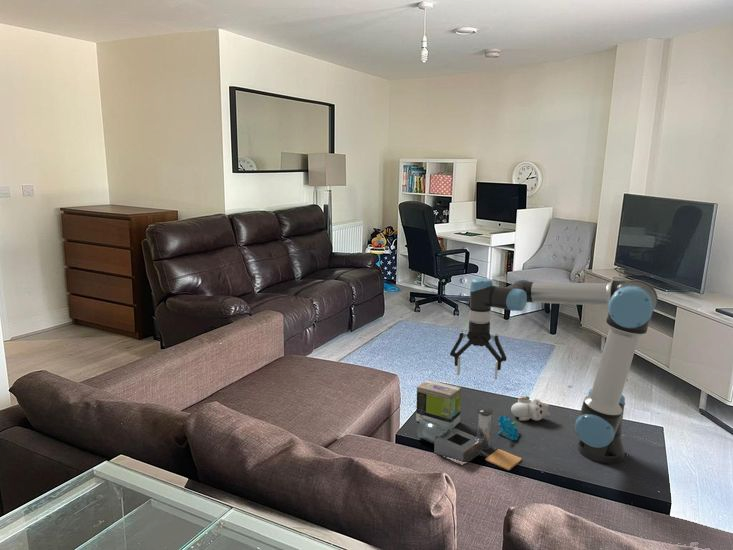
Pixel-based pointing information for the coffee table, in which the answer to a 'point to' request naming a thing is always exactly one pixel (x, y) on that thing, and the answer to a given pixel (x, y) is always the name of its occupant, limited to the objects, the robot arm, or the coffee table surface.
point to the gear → (508, 428)
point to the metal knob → (484, 426)
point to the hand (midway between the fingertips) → (477, 376)
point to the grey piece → (450, 441)
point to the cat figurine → (530, 409)
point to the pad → (503, 459)
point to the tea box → (439, 403)
